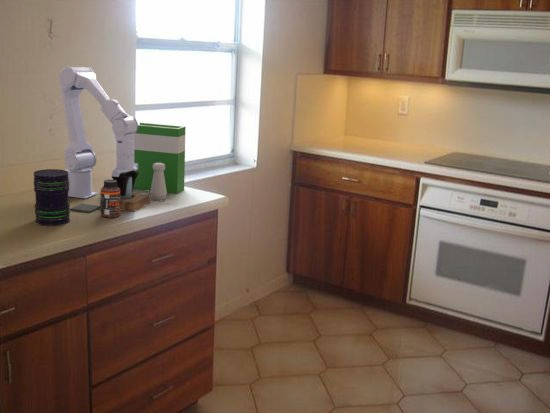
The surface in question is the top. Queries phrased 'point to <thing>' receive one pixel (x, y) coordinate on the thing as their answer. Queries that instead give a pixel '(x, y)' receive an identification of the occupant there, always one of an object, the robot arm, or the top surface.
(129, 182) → the peg
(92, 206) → the mat
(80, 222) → the top surface
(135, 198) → the holder
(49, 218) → the storage jar
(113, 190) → the supplement bottle
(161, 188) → the salt shaker
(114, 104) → the robot arm
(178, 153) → the green cereal box
